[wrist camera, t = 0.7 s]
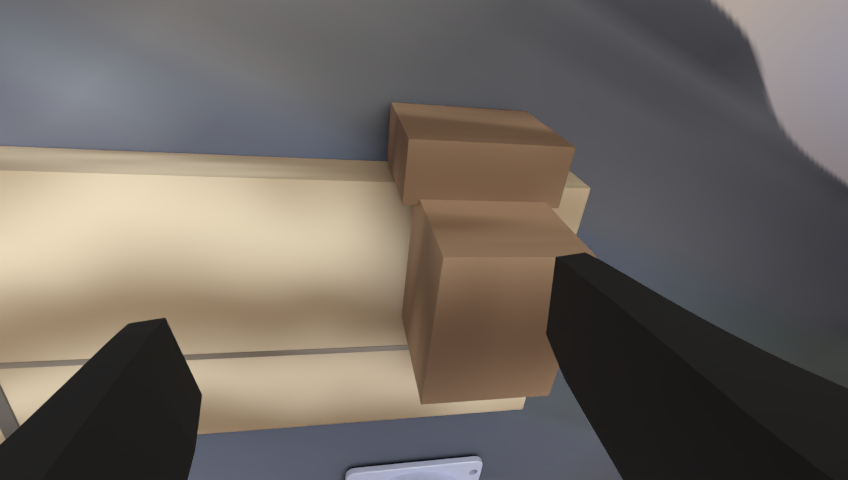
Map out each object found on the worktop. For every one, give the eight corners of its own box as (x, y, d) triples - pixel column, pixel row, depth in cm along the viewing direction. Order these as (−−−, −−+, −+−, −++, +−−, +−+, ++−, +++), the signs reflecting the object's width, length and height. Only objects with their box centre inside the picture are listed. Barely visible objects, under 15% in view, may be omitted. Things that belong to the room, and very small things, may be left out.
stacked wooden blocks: (479, 328, 22) (537, 465, 16) (374, 331, 21) (394, 481, 15) (525, 111, 17) (637, 191, 11) (391, 102, 16) (431, 186, 10)
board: (508, 379, 25) (523, 410, 23) (-18, 412, 20) (-52, 456, 18) (566, 168, 19) (592, 189, 17) (-159, 139, 14) (-230, 164, 12)
